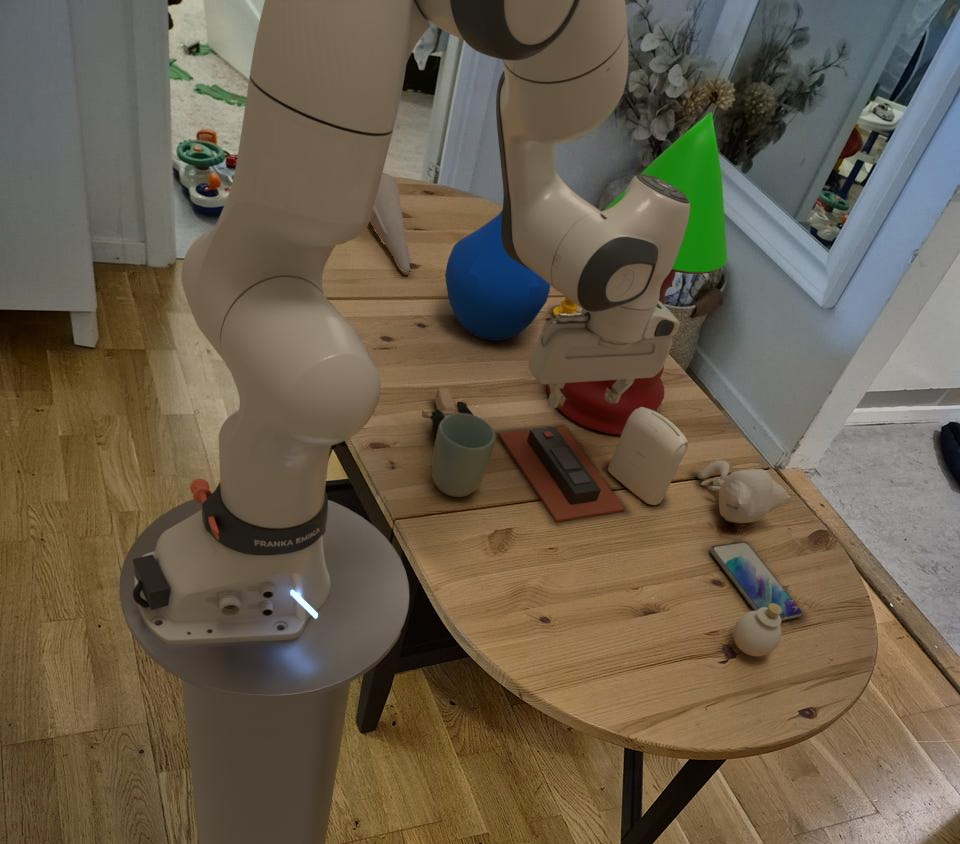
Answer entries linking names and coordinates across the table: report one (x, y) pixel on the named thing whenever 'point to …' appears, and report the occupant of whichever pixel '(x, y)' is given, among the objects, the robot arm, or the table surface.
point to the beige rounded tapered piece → (744, 492)
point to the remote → (563, 465)
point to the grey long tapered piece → (391, 221)
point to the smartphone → (754, 578)
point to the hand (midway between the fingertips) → (583, 403)
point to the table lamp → (700, 252)
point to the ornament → (759, 630)
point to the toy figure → (444, 408)
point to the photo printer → (648, 455)
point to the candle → (565, 307)
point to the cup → (461, 453)
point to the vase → (492, 286)
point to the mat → (548, 486)
